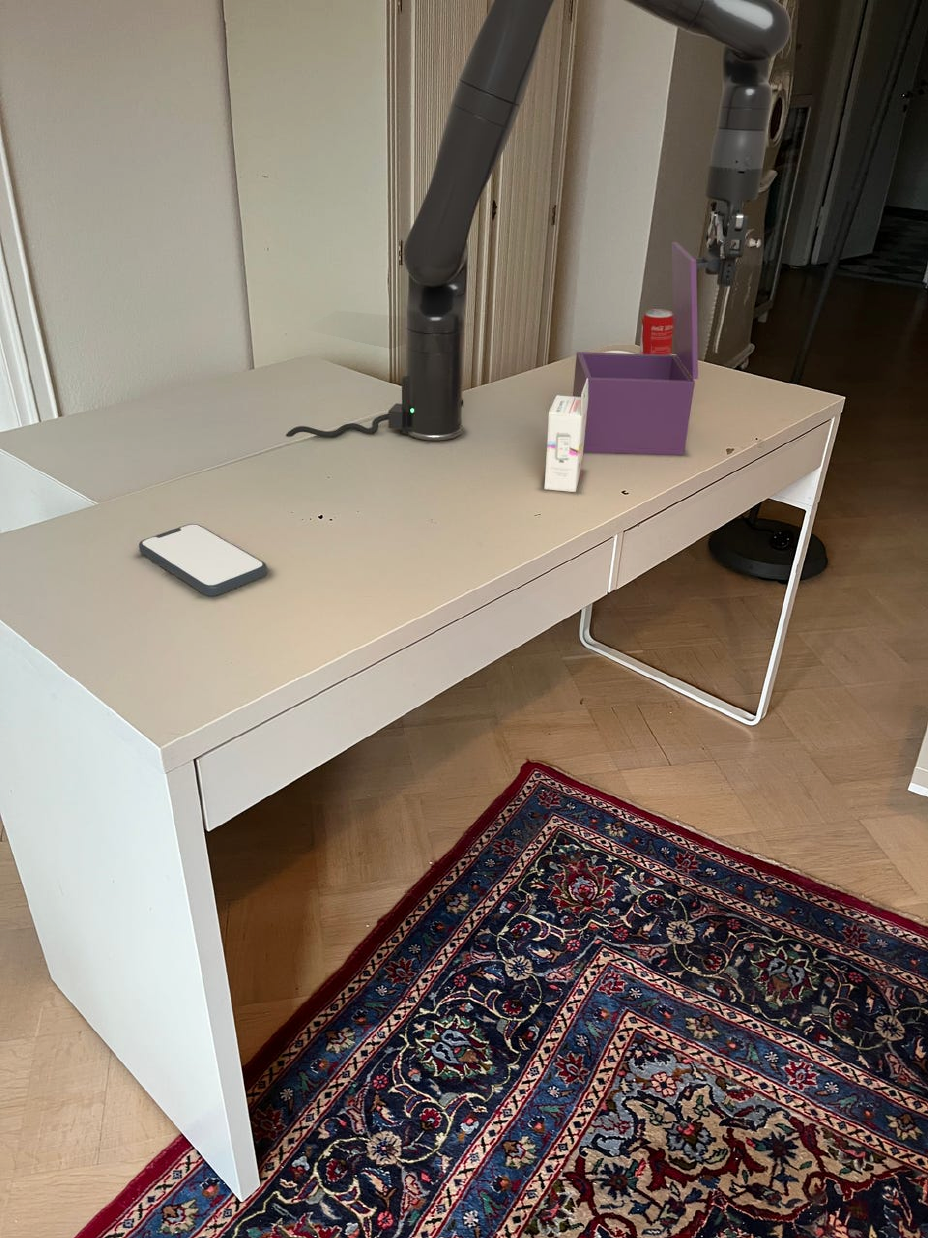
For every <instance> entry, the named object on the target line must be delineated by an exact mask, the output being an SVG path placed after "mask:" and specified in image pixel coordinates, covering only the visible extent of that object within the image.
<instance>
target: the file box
mask: <svg viewBox="0 0 928 1238" xmlns="http://www.w3.org/2000/svg"><path fill="white" fill-rule="evenodd" d="M575 357H576V358H575V367H574V378H573V389H572V391H573V392H572V397H581V393H582V391H583V388H584V385H585V382H586V379H587V378H588V407H587V417H586V427H585V437H584V447H583V453H595V454H596V453H598V454H628V455H629V454H631V455H633V454H634V455H662V456H663V455H665V456H684V455H685V449H686V445H687V436H688V431H689V424H690V418H691V411H692V410H691V409H692V405H693V397H694V393H695V392H694V391H695V386H696V385H695V384H696V382H695V379H692V377H691V376H690V374H689V373H688V371H687V370H686V368H685V367H684V365H683V364H682V362H681V361H680V359H679V358H678V356H677V355H676V354H671V355H660V354H639V353H621V352H592V351H591V352H590V351H589V352H587V351H576V356H575ZM584 398H585V396H584Z"/></svg>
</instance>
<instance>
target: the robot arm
mask: <svg viewBox="0 0 928 1238" xmlns="http://www.w3.org/2000/svg"><path fill="white" fill-rule="evenodd" d="M624 1H625V2H627V3H629V4H630V5H632V6H634V7H636V8H637V9H639V10H641V11H643V12H645V13H647V14H648V15H651V16H653V17H655V18H657V19H659V20H661V21H662V22H665V23H667V24H669V25H671V26H673V27H675V28H677V29H680V30H682V31H684V32H686V33H689V34H691V35H694V36H699V37H705V38H709V39H712V40H714V41H716V42H718V43H720V44H721V45H723V46H722V74H721V75H722V77H721V78H722V79H721V80H722V93H721V98H720V103H719V110H718V117H717V122H716V128H715V129H716V131H715V135H714V138H713V141H712V146H711V152H710V159H709V164H708V170H707V179H706V186H705V193H704V194H705V197H706V198H708V199H710V200H711V202H710V204H709V214H708V219H707V224H706V231H705V235H704V241H705V242H706V248H707V252H712V253H713V254H714V255H715V256H716V257H718V258H719V259H720V265H719V270H718V271H716V272H712V271H710V270H709V269H708V268H705V269H704V273H705V274H706V275H709V276H710V275H713V276H714V275H715V276H717V277H716V278H717V279H716V284H717V286H719V287H727V288H728V287H731V286H733V284H734V283H733V282H734V277H735V271H736V265H737V261H739V259H742V258H743V256H744V249H745V243H746V238H747V237H746V236H747V231H748V222H749V218H750V216H749V213H743V207H744V203H745V202H747V203H749V202H750V203H751V202H755V201H756V200H757V199H758V197H759V196H758V195H759V190H760V184H761V180H762V179H761V178H762V172H763V168H764V167H763V166H764V160H765V155H766V148H767V132H768V126H769V120H770V114H771V108H772V102H773V89H772V86H771V85H770V83H769V75H770V74H769V72H770V65H771V64H770V63H771V59H772V58H773V57H775V56H776V55H778V54H779V53H780V52H781V51H782V50H783V49H784V47H785V46H786V44H787V43H788V41H789V38H790V35H791V29H792V26H791V25H792V24H791V18H790V14H789V12H788V11H787V9H786V7H784V6H783V4H781V3H780V2H778V1H777V0H624ZM554 2H555V0H493V1H492V3H491V5H490V8H489V10H488V13H487V14H486V16H485V18H484V21H482V25H481V26H480V28H479V29H478V32H477V34H476V37H475V38H474V41H473V43H472V45H471V48H470V50H469V52H468V55H467V57H466V59H465V62H464V64H463V67H462V69H461V72H460V75H459V79H458V81H457V85H456V87H455V90H454V93H453V96H452V98H451V102H450V106H449V109H448V113H447V116H446V120H445V123H444V127H443V130H442V134H441V137H440V138H441V139H440V143H439V146H438V151H437V156H436V160H435V164H434V169H433V172H432V173H433V174H432V177H431V180H430V183H429V186H428V189H427V191H426V193H425V196H424V199H423V201H422V203H421V206H420V208H419V211H418V213H417V215H416V217H415V219H414V222H413V224H412V226H411V228H410V230H409V232H408V234H407V236H406V238H405V240H404V242H403V247H402V256H403V257H402V258H403V264H404V268H405V270H406V272H407V276H408V277H407V298H406V307H405V374H404V375H403V376H402V377H401V403H395V404H394V405H392V407H391V408H389V409H388V411H387V412H388V413H385V414H381V415H378V416H377V417H375V418H374V419H373V420H372V424H371V426H372V427H365V426H363V425H361V424H359V423H357V422H356V423H355V422H350V423H344V424H343V425H341V426H340V427H338V428H337V429H335V430H331V431H329V430H327V431H326V430H321V429H317V428H314V427H310V426H306V425H299V426H296V427H295V426H294V427H293V428H291V429H290V430H289V431H288V432H286V434H285V437H287V438H291V437H293V436H295V435H296V434H298V433H308V434H311V435H314V436H318V437H323V438H334V437H338V436H340V435H343V433H344V432H346V431H348V430H357V431H359V432H361V433H363V434H366V435H372V434H375V433H377V431H378V429H379V424H380V423H381V422H384V421H388V422H387V423H388V424H387V425H388V429H391V430H400V431H401V434H402V435H406V436H409V437H411V438H414V439H417V440H422V441H428V442H429V441H431V442H438V441H439V442H440V441H441V442H442V441H448V440H452V439H455V438H458V437H459V436H461V435H462V433H463V432H462V431H463V425H462V423H463V421H462V420H463V417H462V416H463V414H462V412H463V407H464V399H463V383H464V380H463V379H464V345H465V343H464V341H465V340H464V339H465V315H466V306H467V289H468V288H467V287H468V286H467V285H468V265H469V264H468V263H469V262H468V261H469V260H468V258H469V254H468V253H469V248H468V247H469V245H468V238H469V235H470V231H471V227H472V223H473V219H474V216H475V213H476V210H477V207H478V205H479V201H480V199H481V196H482V195H483V193H484V190H485V189H486V186H487V184H488V183H489V180H490V179H491V176H492V175H493V173H494V171H495V169H496V167H497V166H498V163H499V161H500V159H501V158H502V157H501V156H502V154H503V152H504V150H505V148H506V145H507V144H508V141H509V138H510V136H511V134H512V131H513V128H514V127H515V123H516V121H517V118H518V115H519V112H520V109H521V105H522V103H523V100H524V98H525V94H526V91H527V88H528V85H529V82H530V79H531V75H532V72H533V68H534V64H535V61H536V57H537V53H538V50H539V46H540V41H541V37H542V35H543V31H544V28H545V26H546V22H547V19H548V16H549V15H550V12H551V9H552V7H553V4H554ZM731 247H733V248H731Z"/></svg>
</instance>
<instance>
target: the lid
mask: <svg viewBox="0 0 928 1238" xmlns="http://www.w3.org/2000/svg"><path fill="white" fill-rule="evenodd" d="M671 265H672V267H671V269H672V303H673V319H674V327H673V339H674V353H675V355H677V357H678V358H679V359H680V361H681V362H682V364H683V365H684V367H685V368H686V370H687V371H688V373H689V374H690V376H691V377H692V379H693V380H698V379H699V356H698V355H699V352H698V350H699V349H698V348H699V345H698V344H699V343H698V296H697V295H698V293H697V287H698V286H697V285H698V284H697V271H698V270H705V268H708V269H709V270H710V271H712V272H716V271H718V270H719V265H720V259H719V258H718V257H716V256H715V255H714V254H713V253H712V252H708V251H706V252H705V253H704V254H702V256H701V257H693V256H692V255H691V254H690V253H689V252H688V251H687V250H686V249H685V248H684V247H683V246H682V245H681V244H680V243H678V242H677V241H671Z"/></svg>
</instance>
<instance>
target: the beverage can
mask: <svg viewBox="0 0 928 1238" xmlns="http://www.w3.org/2000/svg"><path fill="white" fill-rule="evenodd" d="M673 338H674V312H672V311H670V310H668V309H661V308H655V309H654V308H653V309H648V310H646V311H644V315H643V317H642V319H641V329H640V341H639V342H640V343H639V353H638V354H660V355H672V346H673Z"/></svg>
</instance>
